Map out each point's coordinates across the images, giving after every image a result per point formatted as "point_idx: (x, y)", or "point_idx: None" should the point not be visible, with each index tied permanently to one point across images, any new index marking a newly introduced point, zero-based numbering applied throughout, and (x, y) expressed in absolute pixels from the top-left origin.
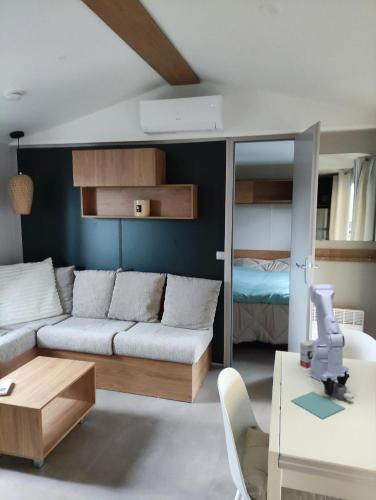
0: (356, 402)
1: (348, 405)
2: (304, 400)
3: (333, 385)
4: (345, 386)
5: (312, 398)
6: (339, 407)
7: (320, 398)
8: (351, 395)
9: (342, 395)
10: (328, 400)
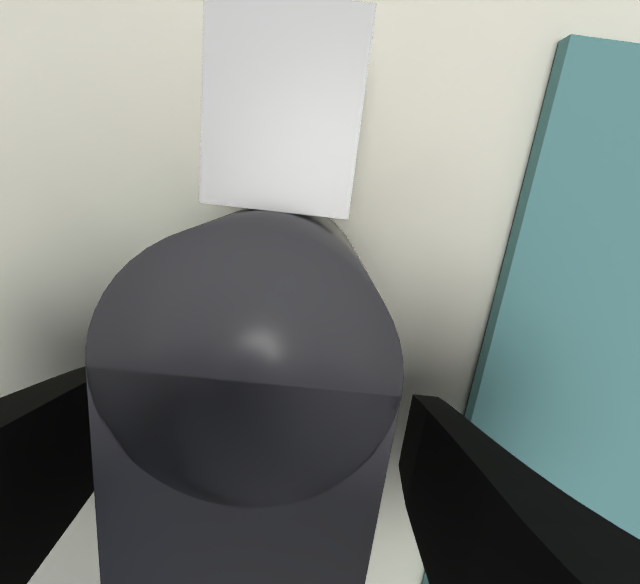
0: (193, 27)
1: (400, 71)
2: None
3: (333, 550)
4: (100, 319)
5: (604, 516)
6: (618, 119)
7: (535, 457)
8: (252, 35)
9: (345, 241)
10: (513, 360)
